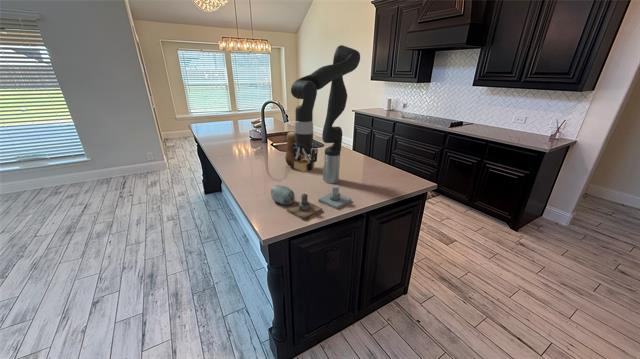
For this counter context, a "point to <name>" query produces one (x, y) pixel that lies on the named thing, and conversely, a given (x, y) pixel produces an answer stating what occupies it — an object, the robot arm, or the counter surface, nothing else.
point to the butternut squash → (289, 156)
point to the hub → (335, 198)
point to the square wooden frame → (302, 165)
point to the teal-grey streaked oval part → (282, 195)
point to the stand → (304, 209)
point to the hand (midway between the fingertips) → (304, 168)
